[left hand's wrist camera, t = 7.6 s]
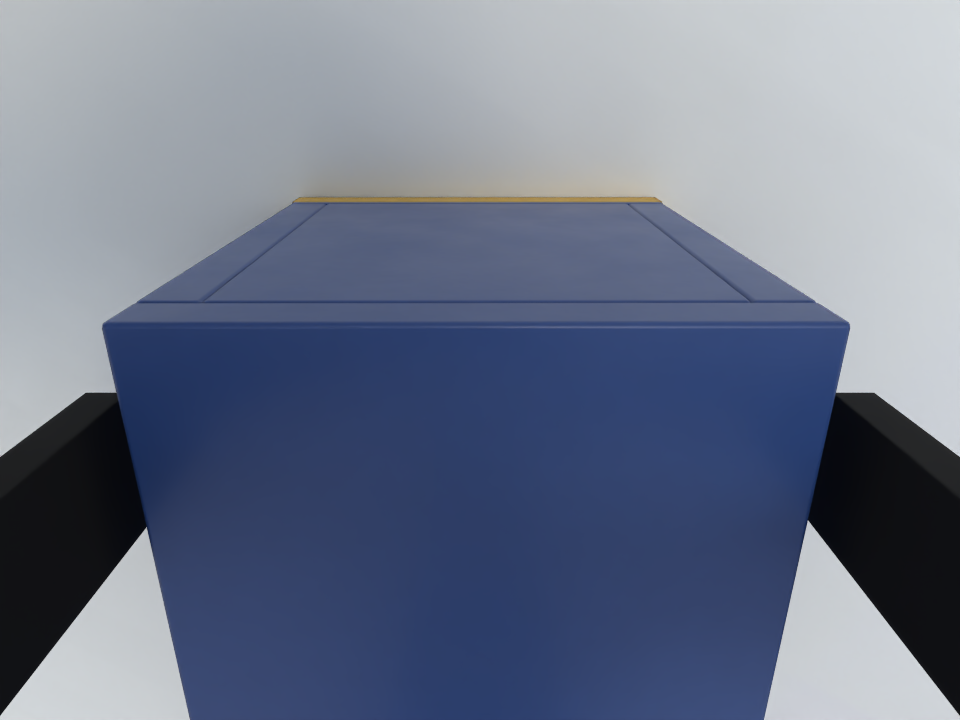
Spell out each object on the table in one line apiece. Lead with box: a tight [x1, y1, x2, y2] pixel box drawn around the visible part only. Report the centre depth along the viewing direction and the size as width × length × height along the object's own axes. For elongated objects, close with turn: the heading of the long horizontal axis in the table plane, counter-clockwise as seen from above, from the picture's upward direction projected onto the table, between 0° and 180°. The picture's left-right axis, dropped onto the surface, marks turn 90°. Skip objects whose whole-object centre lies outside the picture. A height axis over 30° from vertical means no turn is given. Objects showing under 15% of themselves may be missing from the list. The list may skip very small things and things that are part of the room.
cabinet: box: [102, 197, 850, 720], centre depth 19 cm, size 19×11×12 cm, turn 0°
